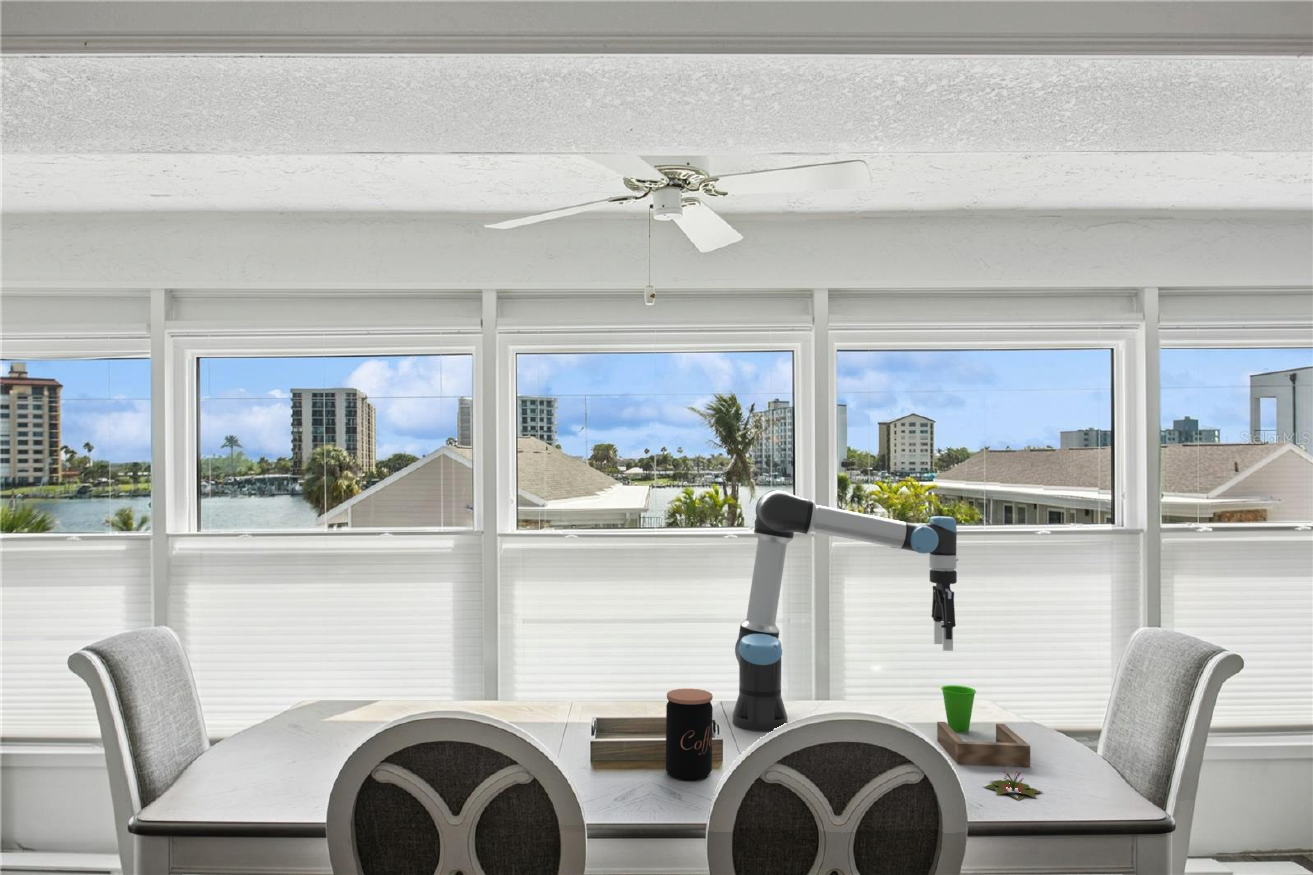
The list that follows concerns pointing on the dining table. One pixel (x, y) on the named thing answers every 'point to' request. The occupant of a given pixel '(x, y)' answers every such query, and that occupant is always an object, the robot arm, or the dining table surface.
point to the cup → (958, 706)
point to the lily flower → (1013, 787)
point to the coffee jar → (689, 734)
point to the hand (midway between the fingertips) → (943, 647)
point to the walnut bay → (985, 748)
